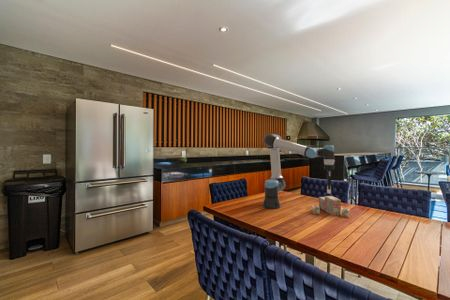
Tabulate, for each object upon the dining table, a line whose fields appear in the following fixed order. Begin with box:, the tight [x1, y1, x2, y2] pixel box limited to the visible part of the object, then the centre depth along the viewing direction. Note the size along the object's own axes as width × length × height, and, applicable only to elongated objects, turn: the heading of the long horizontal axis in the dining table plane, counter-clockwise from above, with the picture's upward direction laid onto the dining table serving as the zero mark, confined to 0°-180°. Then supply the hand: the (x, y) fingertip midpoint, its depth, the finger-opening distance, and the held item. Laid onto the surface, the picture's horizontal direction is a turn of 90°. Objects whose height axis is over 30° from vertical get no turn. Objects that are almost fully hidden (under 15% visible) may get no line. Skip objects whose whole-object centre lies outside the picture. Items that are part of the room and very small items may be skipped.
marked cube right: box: [340, 207, 350, 218], centre depth 165 cm, size 5×5×5 cm
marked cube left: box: [311, 205, 321, 215], centre depth 173 cm, size 5×5×5 cm
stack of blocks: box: [318, 195, 342, 217], centre depth 176 cm, size 21×6×12 cm, turn 5°
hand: (329, 193), depth 175 cm, fingers closed
